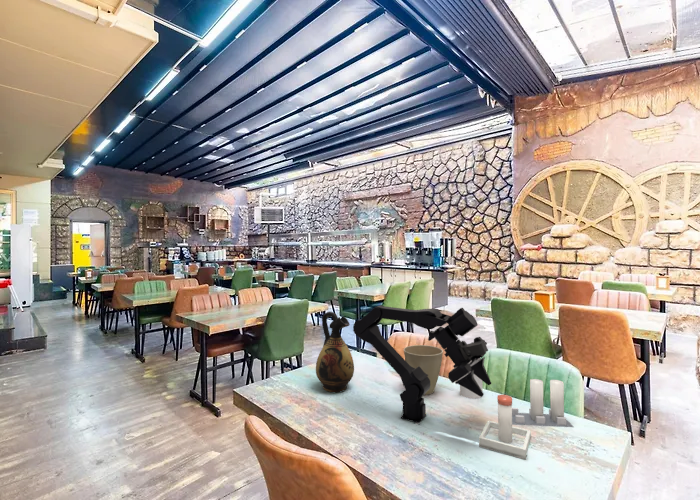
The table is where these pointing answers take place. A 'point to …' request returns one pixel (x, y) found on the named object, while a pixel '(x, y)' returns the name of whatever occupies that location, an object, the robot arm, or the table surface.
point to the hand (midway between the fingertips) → (486, 389)
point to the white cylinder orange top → (504, 418)
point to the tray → (505, 447)
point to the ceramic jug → (334, 356)
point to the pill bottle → (470, 394)
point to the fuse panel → (536, 406)
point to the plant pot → (425, 361)
